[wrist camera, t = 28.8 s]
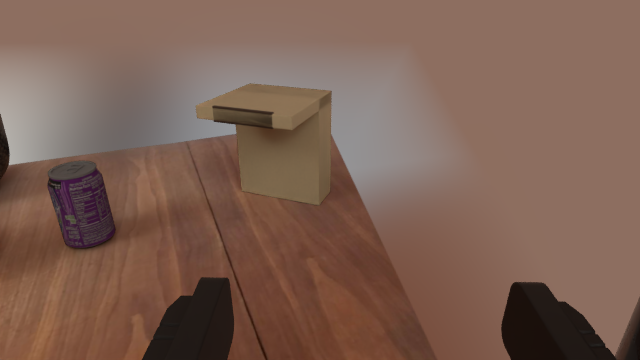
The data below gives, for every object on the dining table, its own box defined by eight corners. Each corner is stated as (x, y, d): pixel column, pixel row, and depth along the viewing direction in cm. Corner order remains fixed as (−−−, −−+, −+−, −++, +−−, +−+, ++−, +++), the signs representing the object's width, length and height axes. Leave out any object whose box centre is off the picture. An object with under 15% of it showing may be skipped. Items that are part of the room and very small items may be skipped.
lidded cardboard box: (295, 235, 66) (291, 115, 58) (209, 217, 71) (195, 104, 63) (337, 183, 84) (339, 84, 75) (265, 171, 89) (260, 78, 80)
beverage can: (78, 227, 68) (59, 159, 63) (123, 226, 69) (107, 158, 64) (56, 252, 62) (33, 179, 57) (105, 251, 62) (86, 178, 57)
